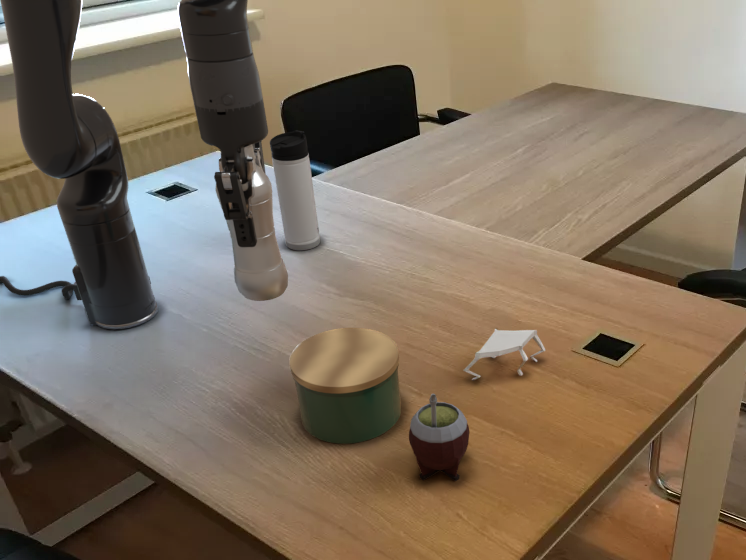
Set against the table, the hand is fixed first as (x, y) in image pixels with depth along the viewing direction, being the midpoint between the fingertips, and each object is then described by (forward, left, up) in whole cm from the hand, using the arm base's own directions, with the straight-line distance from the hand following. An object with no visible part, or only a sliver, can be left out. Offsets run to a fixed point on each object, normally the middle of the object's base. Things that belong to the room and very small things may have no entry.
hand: (253, 233), depth 100 cm
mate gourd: (+23, -20, -22) cm, 38 cm away
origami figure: (+31, +1, -22) cm, 38 cm away
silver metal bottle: (0, 0, -9) cm, 9 cm away
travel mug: (-3, +44, -22) cm, 49 cm away
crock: (+11, -8, -22) cm, 26 cm away
